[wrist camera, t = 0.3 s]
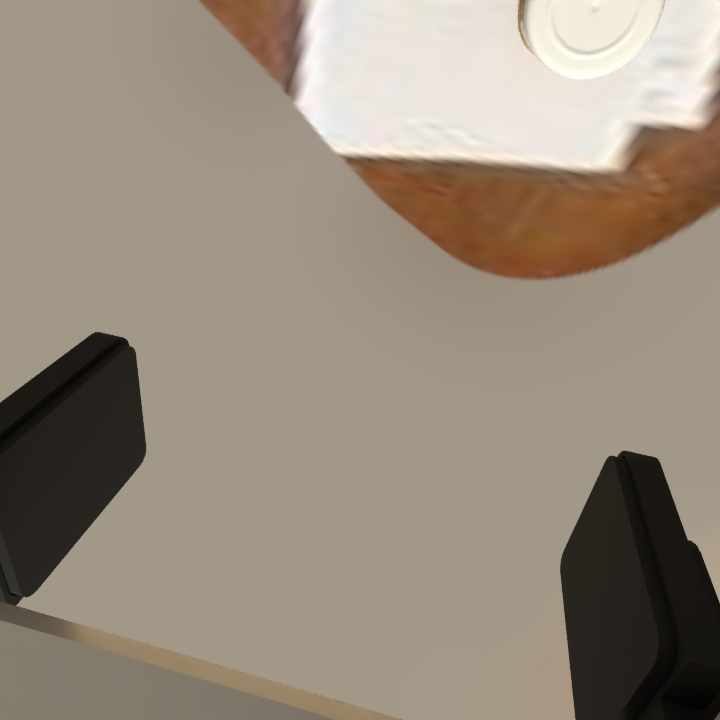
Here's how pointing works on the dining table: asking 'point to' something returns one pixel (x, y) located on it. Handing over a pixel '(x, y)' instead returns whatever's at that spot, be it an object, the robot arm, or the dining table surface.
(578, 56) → the sprinkles bottle
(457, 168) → the dining table surface
